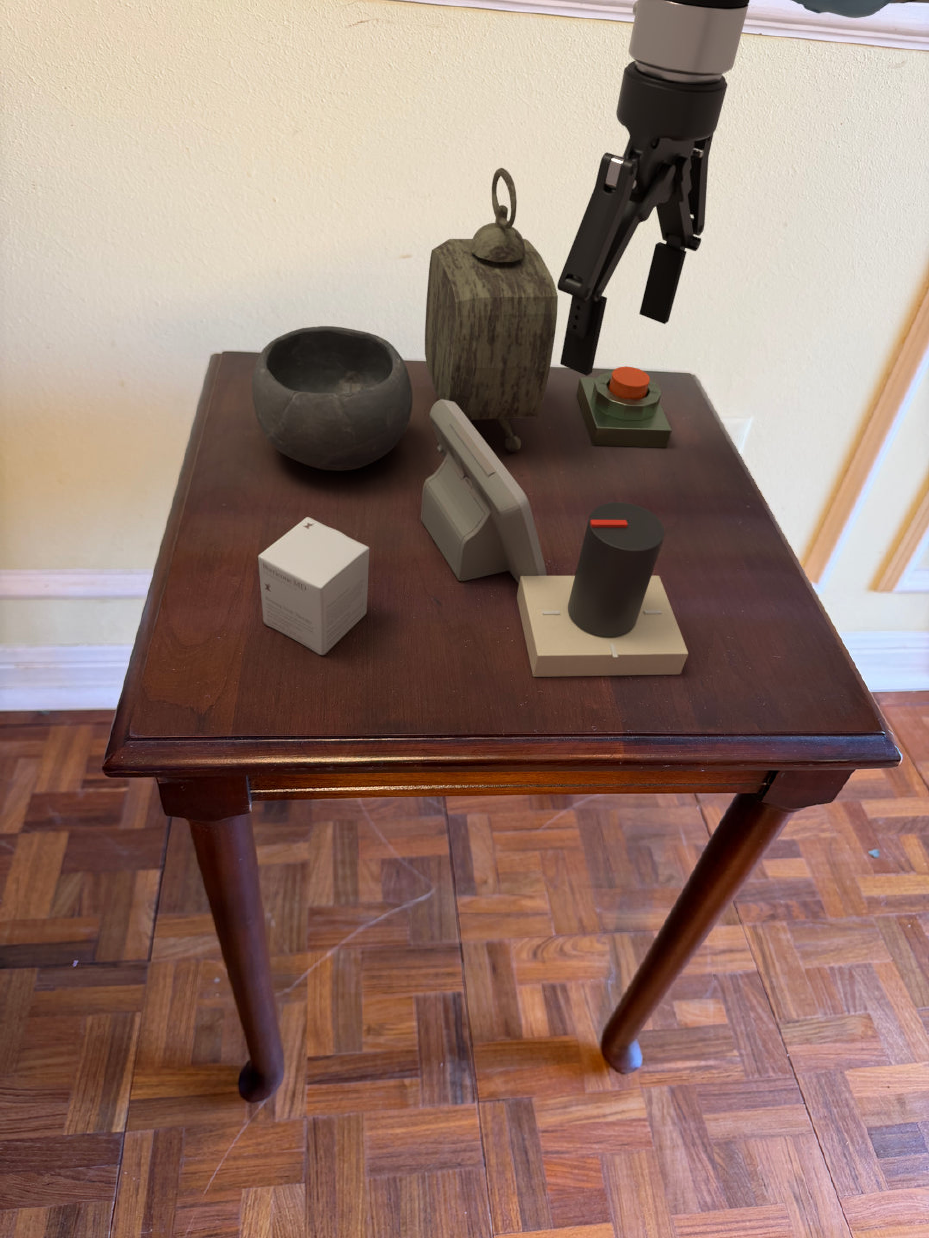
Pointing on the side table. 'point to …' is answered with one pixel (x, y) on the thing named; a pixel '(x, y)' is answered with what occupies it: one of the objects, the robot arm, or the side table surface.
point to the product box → (314, 584)
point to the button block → (622, 415)
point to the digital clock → (477, 505)
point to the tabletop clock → (491, 321)
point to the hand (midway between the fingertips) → (616, 342)
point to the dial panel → (582, 654)
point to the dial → (614, 568)
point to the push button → (629, 383)
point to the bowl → (332, 396)
